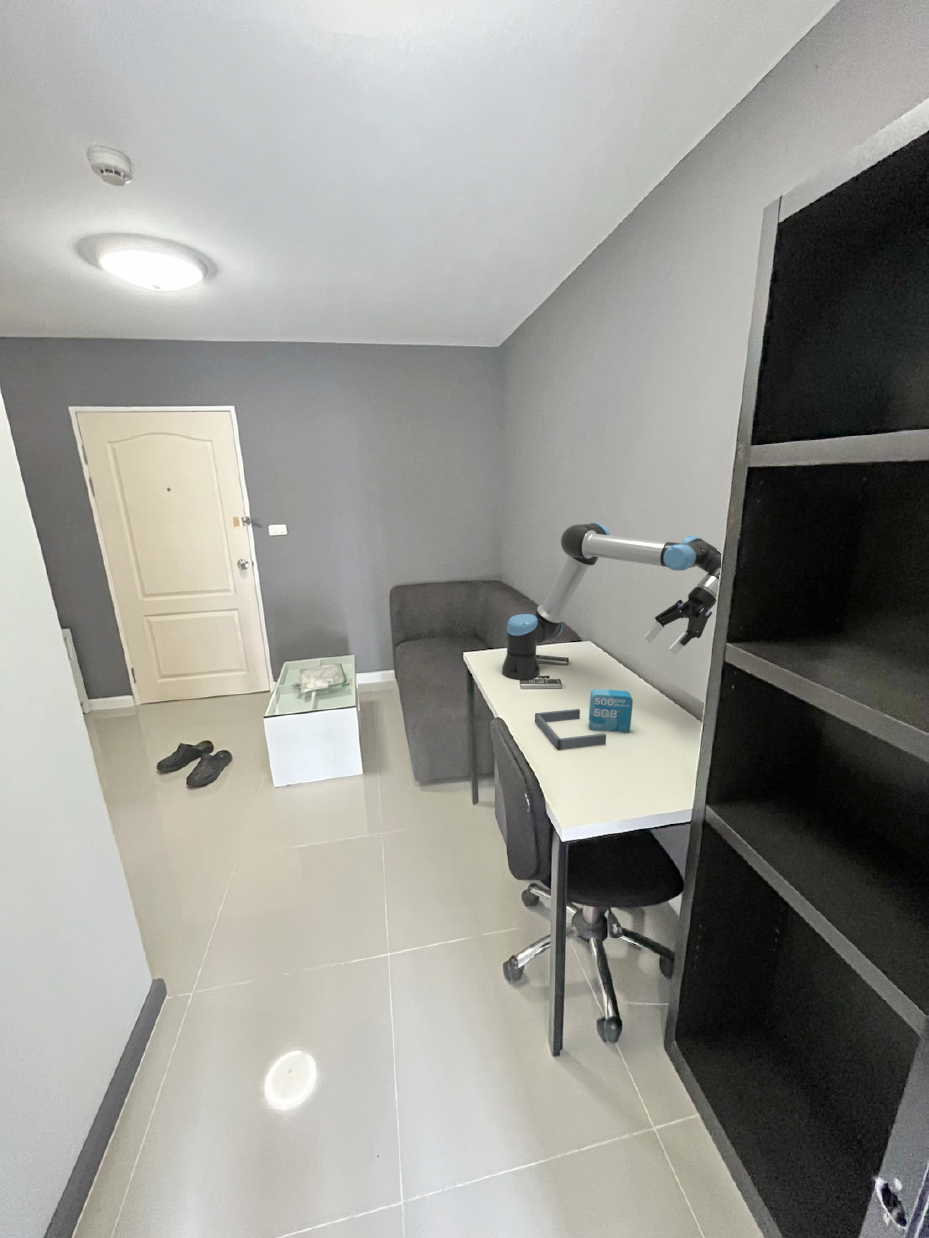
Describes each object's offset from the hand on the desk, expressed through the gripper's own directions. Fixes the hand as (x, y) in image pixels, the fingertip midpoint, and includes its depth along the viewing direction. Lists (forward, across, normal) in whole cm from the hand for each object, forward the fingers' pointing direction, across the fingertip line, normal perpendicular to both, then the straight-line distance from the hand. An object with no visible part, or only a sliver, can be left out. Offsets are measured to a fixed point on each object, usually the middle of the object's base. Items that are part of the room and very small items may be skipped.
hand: (658, 645), depth 148 cm
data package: (+29, 0, -7) cm, 30 cm away
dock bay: (+38, -1, +3) cm, 38 cm away
